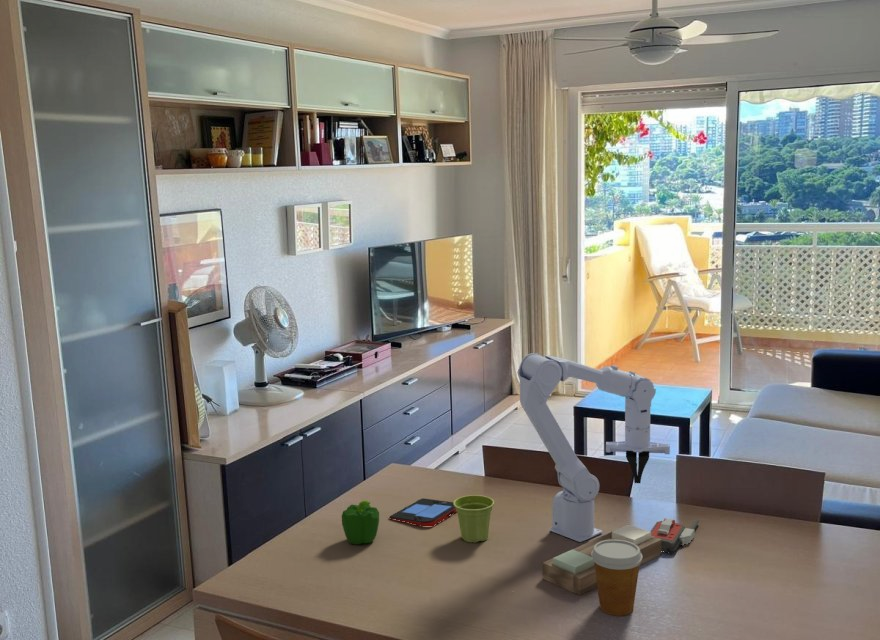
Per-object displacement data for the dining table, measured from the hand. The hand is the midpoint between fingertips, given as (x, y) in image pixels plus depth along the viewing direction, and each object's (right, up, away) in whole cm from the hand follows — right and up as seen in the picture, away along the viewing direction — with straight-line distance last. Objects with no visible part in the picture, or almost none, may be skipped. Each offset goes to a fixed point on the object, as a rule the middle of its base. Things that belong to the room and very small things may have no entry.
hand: (637, 481), depth 202 cm
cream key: (-5, -11, -14) cm, 19 cm away
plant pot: (-39, -12, -4) cm, 41 cm away
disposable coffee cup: (-13, -17, -38) cm, 44 cm away
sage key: (-19, -13, -27) cm, 35 cm away
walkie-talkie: (+7, -12, -6) cm, 15 cm away
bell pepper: (-65, -13, -4) cm, 66 cm away
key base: (-12, -14, -20) cm, 27 cm away
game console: (-50, -11, +11) cm, 53 cm away
